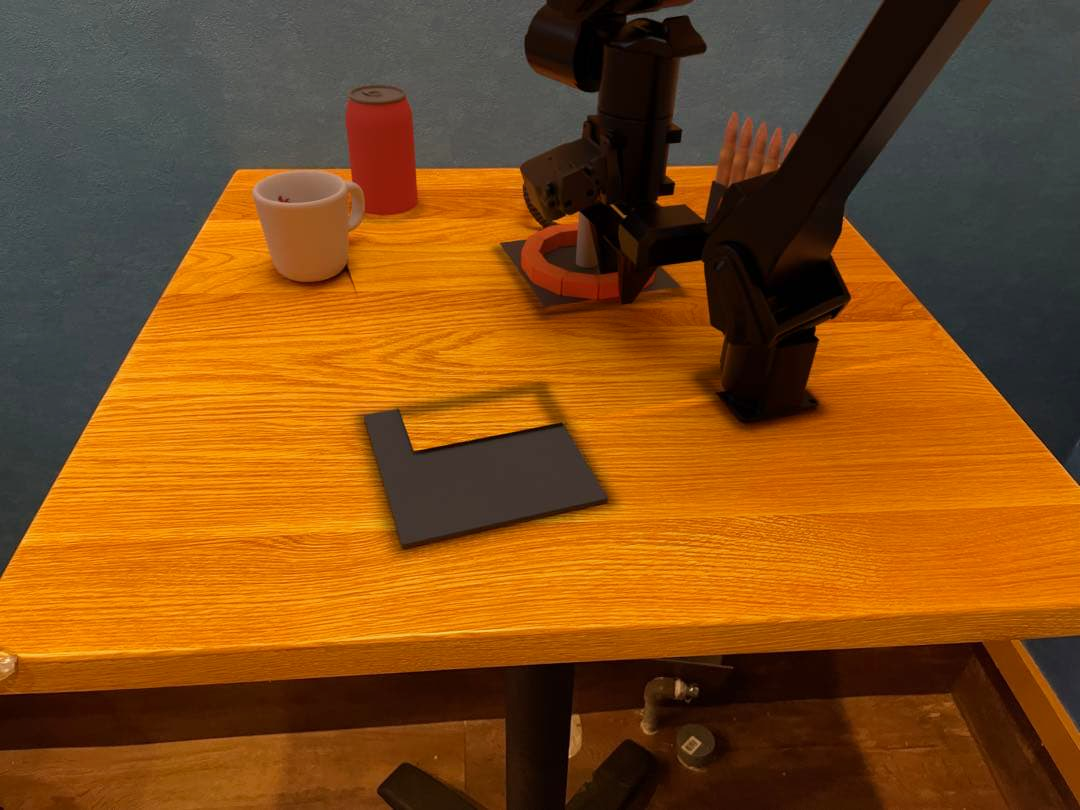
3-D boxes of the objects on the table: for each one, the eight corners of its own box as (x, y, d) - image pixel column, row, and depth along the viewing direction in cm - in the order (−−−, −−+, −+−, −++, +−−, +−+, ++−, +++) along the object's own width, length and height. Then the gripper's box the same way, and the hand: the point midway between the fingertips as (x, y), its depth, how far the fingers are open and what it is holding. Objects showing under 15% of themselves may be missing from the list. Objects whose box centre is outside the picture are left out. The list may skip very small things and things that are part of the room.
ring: (678, 288, 73) (680, 272, 72) (549, 307, 69) (550, 290, 68) (622, 231, 82) (623, 216, 81) (506, 246, 78) (506, 230, 77)
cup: (337, 233, 81) (327, 154, 77) (396, 256, 78) (389, 174, 73) (248, 272, 74) (231, 188, 69) (309, 299, 71) (295, 212, 66)
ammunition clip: (796, 261, 79) (825, 138, 72) (783, 266, 79) (812, 142, 71) (714, 223, 86) (734, 107, 79) (702, 227, 85) (721, 110, 78)
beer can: (386, 192, 90) (377, 78, 83) (431, 207, 87) (425, 91, 80) (342, 210, 86) (327, 92, 79) (387, 227, 83) (377, 106, 76)
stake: (680, 294, 73) (689, 234, 70) (543, 314, 70) (546, 252, 66) (621, 234, 83) (626, 179, 80) (498, 249, 80) (498, 192, 76)
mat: (607, 502, 51) (608, 497, 51) (402, 549, 48) (402, 544, 47) (538, 387, 61) (538, 383, 61) (364, 419, 57) (363, 414, 57)
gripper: (495, 80, 66) (495, 257, 75) (581, 162, 52) (568, 366, 61) (622, 72, 69) (607, 242, 78) (735, 147, 55) (700, 343, 64)
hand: (616, 292), depth 71 cm, fingers open, 3 cm apart
